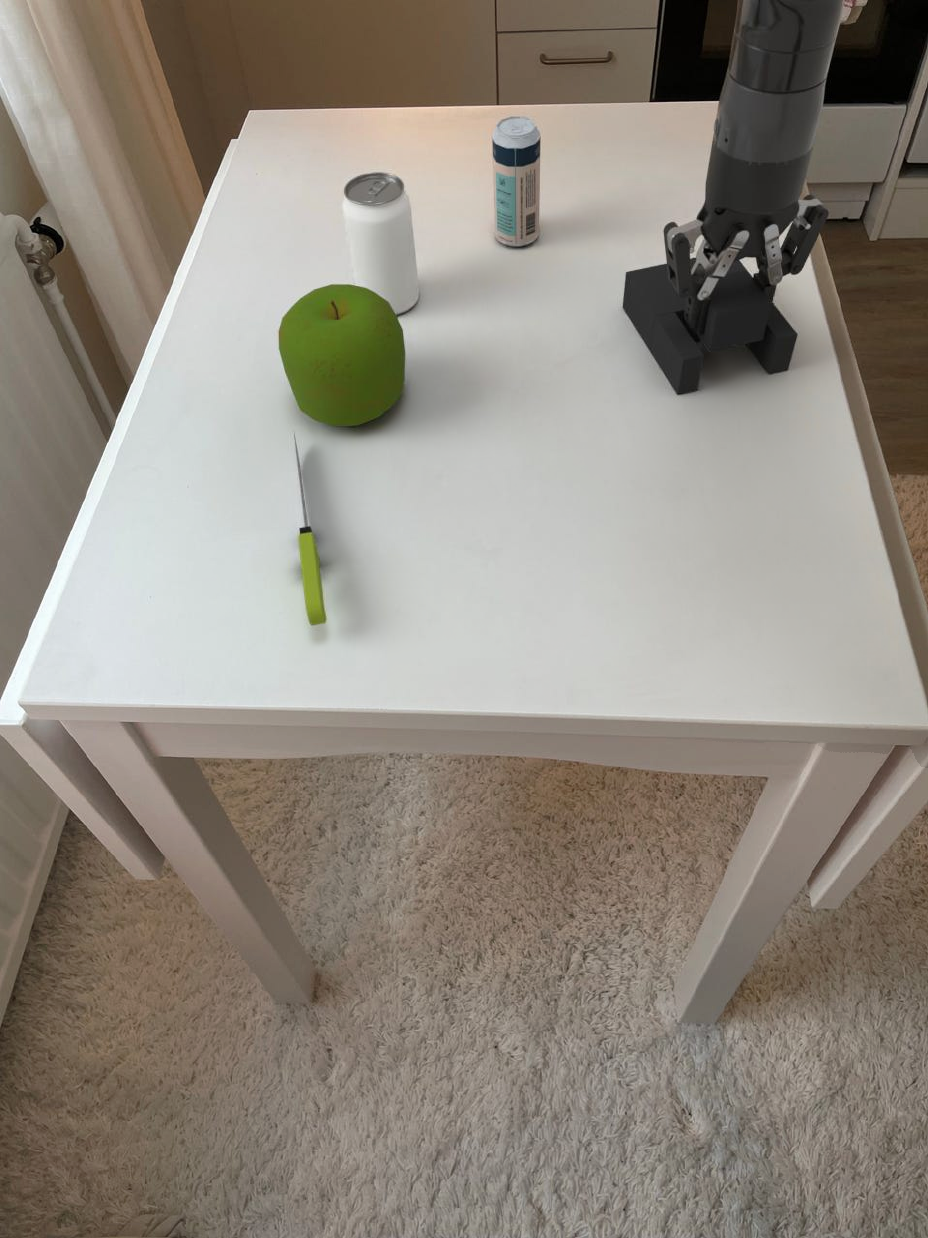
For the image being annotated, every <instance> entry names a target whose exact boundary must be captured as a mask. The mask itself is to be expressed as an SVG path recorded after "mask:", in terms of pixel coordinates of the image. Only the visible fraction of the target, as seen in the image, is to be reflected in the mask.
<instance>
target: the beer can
mask: <svg viewBox="0 0 928 1238" xmlns="http://www.w3.org/2000/svg"><path fill="white" fill-rule="evenodd" d="M491 137H492V145H491V146H492V178H493V180H492V181H493V182H492V183H493V216H494V219H493V221H494V236H495V239H496V240H497V241H498V242H500V243H502V244H504V245H506V246H509V247H514V248H515V247H517V248H518V247H523V246H528V245H529V244H531V243H533V242H534V241H535V240H537V238H538V237H539V234H540V199H541V198H540V197H541V196H540V195H541V132H540V130H539V129H538V126H537V124H536V123H535V120H534V119H532V118H529V117H527V116H523V115H520V116H518V115H517V116H515V115H514V116H513V115H511V116H508V117H506V118H503V119H501V120H500V121H499V122H498V123H497V124H496V126H495V129H494V131H493V133H492V136H491Z"/></svg>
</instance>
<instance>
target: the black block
mask: <svg viewBox="0 0 928 1238" xmlns="http://www.w3.org/2000/svg"><path fill="white" fill-rule="evenodd" d="M747 271H748V269H747V270H742V271H737V272H732V273H727V274H726V275H725V277H724V278H720V279H719V280H718V282H717V284H716V286H715V288H714V289H713V291H712V293H711V295H710V296H709V297H710V298H711V303H710V305H709V309H708V315H707V320H706V325H705V331H704V332H703V333H699V334H697V335H698V336H699V338H700V339H701V340H700V341H701V342H702V344H703V345H704V347H705V348H706V350H707V351H708V352H709V353H711V352H715V351H720V350H724V349H729V348H734V347H738V346H742V345H747V344H748V343H752V342H757V341H761V340H763V336H764V332H765V328H766V324H767V320H768V316H769V312H770V308H771V304H772V302H773V301H772V302H771V301H770V299H769V298H768V297H767V296H766V294H765V293H763V291H762V290H761V289H760V288H759V286H758V285H757V284H756V282H755V281H754V280H753V278H752V277H753V276H752V274H751V273H750V272H749V271H748V272H749V273H750V274H751V275H750V274H749V273H748V272H747ZM751 276H752V277H751Z"/></svg>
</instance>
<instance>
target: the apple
mask: <svg viewBox="0 0 928 1238" xmlns="http://www.w3.org/2000/svg"><path fill="white" fill-rule="evenodd" d="M397 316H398V315H397ZM397 316H396V314H395V313H394V311H393V309H392V307H391V305H390V303H389V302H388V301H387V300H385V299H384V298H382V297H381V296H379V295H378V294H376V293H375V292H373V291H371V290H369V289H367V288H365V287H360V286H355V285H354V284H349V283H348V284H347V283H346V284H342V283H341V284H339V283H337V284H336V283H333V284H332V283H331V284H328V285H325V286H321V287H317V288H314V289H313V290H311V291H309V292H307V293H306V294H305V295H303V296H302V297H300V298H299V299H298V300H297V301H296V302H295V303H294V304H293V305H292V306H290V308H289V309H288V310H287V312H286V313H285V314H284V315H283V317H281V322H280V326H279V329H278V351H279V354H280V358H281V361H282V365H283V369H284V370H283V371H284V373H285V376H286V379H287V380H288V383H289V386H290V389H291V391H292V394H293V396H294V399H295V401H296V403H297V406H298V409H299V411H300V412H302V413H303V414H304V415H306V416H308V417H309V418H310V419H312V420H314V421H316V422H320V423H323V424H326V425H330V426H333V427H348V426H349V427H350V426H354V427H355V426H360V425H362V424H366V423H367V422H371V421H372V420H375V419H377V418H379V417H381V416H382V415H383V414H384V413H386V412H387V411H388V410H389V409H391V407H393V406H394V405H395V404H396V402H397V401H398V399H399V398H400V397H401V395H402V394H403V392H404V386H405V380H406V379H405V378H406V347H405V337H404V329H403V327H402V325H401V323H400V321H399V319H398V317H397Z"/></svg>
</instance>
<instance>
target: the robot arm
mask: <svg viewBox="0 0 928 1238" xmlns="http://www.w3.org/2000/svg"><path fill="white" fill-rule="evenodd" d="M844 4H845V0H737V9H736V16H735V22H734V29H733V34H732V40H731V45H730V53H729V59H728V65H727V66H728V67H727V69H726V70H727V71H726V74H725V79H724V82H723V85H722V88H721V92H720V96H719V99H718V105H717V109H716V110H717V111H716V117H715V120H714V124H713V134H712V136H713V137H712V142H711V147H710V152H709V153H710V154H709V160H708V166H707V172H706V178H705V190H704V191H705V192H704V195H705V196H704V203H703V204H702V207H701V208H700V210H699V212H698V213H697V215H696V219H694V220H692V221H689V222H686V223H684V224H682V225H678V224H677V222H675V221H670V222H667V224H666V225H664V226H663V227H664V228H663V229H662V231H663V240H664V251H665V260H666V264H667V270H668V279H669V281H670V283H671V284H672V286H673V287H674V288H675V290H676V291H677V293H678V294H679V296H680V297H681V298H687V299H686V305H685V306H686V307H685V311H684V318H685V320H686V322H687V323H688V325H689V326H690V328H691V329H693V330H694V332H695V333H696V334H699V333H703V332H704V331H705V325H706V320H707V315H708V309H709V305H710V303H711V298H710V297H709V296H710V295H711V293H712V291H713V289H714V288H715V286H716V284H717V282H718V280H719V279H720V278H724V277H725V275H726V274H727V272H728V270H729V268H730V266H731V264H732V263H733V262H736V261H738V260H740V261H741V260H743V259H745V258H751V259H755V262H756V268H757V269H758V272H755V273H753V275H752V277H753V280H754V281H755V282H756V284H757V285H758V286H759V288H760V289H761V290H762V291H763V293H765V294H766V296H767V297H768V298H769V299H770V301H771V302H772V303H773V304H774V297H775V295H776V290H777V286H778V284H780V283H781V282H782V280H783V278H784V277H786V276H787V275H789V274H790V275H793V276H796V275H798V274H800V273H801V272H802V271H803V270H804V268H805V265H806V263H807V261H808V258H809V257H810V254H811V252H812V251H813V248H814V247H815V244H816V242H817V240H818V238H819V236H820V234H821V231H822V230H823V227H824V225H825V223H826V221H827V219H828V217H829V213H830V212H829V210H828V208H826V206H825V205H824V204H823V203H822V202H821V201H820V200H819V198H817V197H816V196H815V195H814V194H812V193H811V194H806V196H804V197H803V198H802V199H800V197H801V195H802V193H803V189H804V185H805V182H806V177H807V174H808V170H809V165H810V161H811V157H812V153H813V150H814V149H813V148H814V145H815V140H816V136H817V134H818V133H817V132H818V130H819V125H820V122H821V121H820V120H821V117H822V112H823V108H824V102H825V101H824V100H825V90H826V84H827V78H828V73H829V70H830V66H831V63H832V62H831V61H832V58H833V53H834V48H835V44H836V41H837V37H838V34H839V29H840V26H841V21H842V16H843V12H844ZM787 228H789V229H788V230H787ZM786 230H787V233H786V235H785V237H784V240H783V242H782V245H781V243H780V237H781V236H782V234H783V233H784V232H785V231H786ZM700 236H702V237H703V240H702V242H701V243H700V245H699V247H698V249H697V251H695V247H696V242H697V240H698V238H699V237H700ZM694 252H696V254H695V258H696V263H695V264H694V266H693V268H692V270H691V261H690V259H691V254H693V253H694ZM715 254H716V255H717V256H718V259H717V258H716V257H715ZM771 307H772V304H771ZM770 309H771V308H770Z"/></svg>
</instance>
